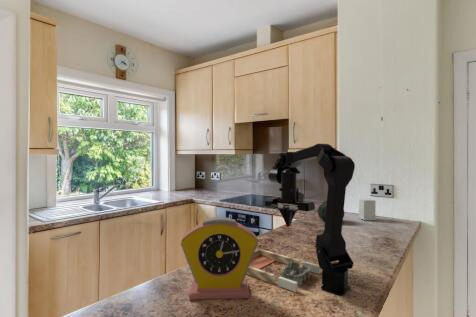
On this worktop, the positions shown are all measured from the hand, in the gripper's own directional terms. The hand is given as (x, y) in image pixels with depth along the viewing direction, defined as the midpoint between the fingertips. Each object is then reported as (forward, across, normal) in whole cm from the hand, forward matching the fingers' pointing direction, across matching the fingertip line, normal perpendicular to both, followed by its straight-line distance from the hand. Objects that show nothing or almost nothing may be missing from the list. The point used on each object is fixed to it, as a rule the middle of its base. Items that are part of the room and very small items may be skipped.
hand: (288, 226), depth 104 cm
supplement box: (+13, -2, -91) cm, 92 cm away
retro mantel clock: (+13, +3, +34) cm, 37 cm away
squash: (+13, +13, -72) cm, 74 cm away
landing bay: (+13, -11, +11) cm, 20 cm away
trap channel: (+13, +3, +11) cm, 17 cm away
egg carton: (+14, -9, +11) cm, 20 cm away
